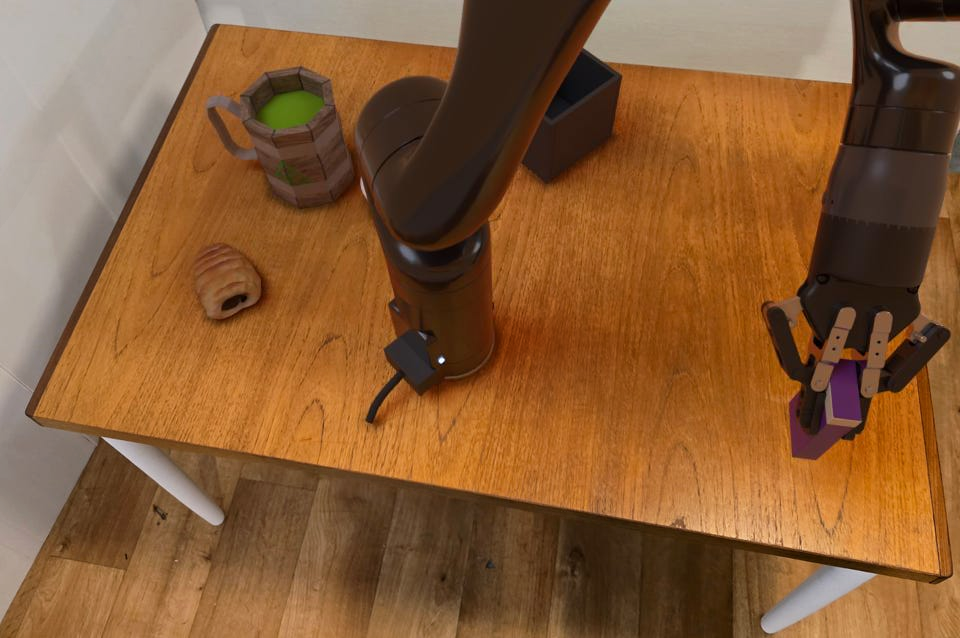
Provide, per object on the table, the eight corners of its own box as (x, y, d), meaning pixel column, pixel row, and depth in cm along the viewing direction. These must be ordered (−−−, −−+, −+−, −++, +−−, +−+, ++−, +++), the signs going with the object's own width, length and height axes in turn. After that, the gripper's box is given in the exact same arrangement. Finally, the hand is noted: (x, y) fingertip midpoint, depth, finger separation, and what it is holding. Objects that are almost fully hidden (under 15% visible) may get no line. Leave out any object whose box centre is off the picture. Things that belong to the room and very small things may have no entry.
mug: (365, 145, 93) (348, 70, 83) (343, 214, 88) (321, 143, 77) (246, 131, 95) (214, 56, 84) (217, 198, 90) (179, 126, 79)
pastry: (185, 265, 85) (172, 246, 82) (240, 240, 86) (230, 220, 83) (213, 327, 81) (201, 309, 77) (271, 300, 82) (262, 281, 79)
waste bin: (547, 184, 89) (551, 125, 81) (484, 133, 93) (482, 72, 85) (611, 136, 93) (622, 75, 84) (549, 89, 97) (553, 26, 88)
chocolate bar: (791, 458, 62) (833, 417, 54) (787, 402, 65) (827, 355, 57) (816, 461, 62) (862, 421, 54) (812, 405, 65) (855, 359, 57)
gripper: (794, 210, 50) (746, 442, 55) (1009, 231, 49) (941, 468, 54) (766, 198, 58) (726, 405, 62) (953, 216, 56) (897, 426, 61)
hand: (826, 433), depth 58 cm, fingers closed on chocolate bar, 2 cm apart
